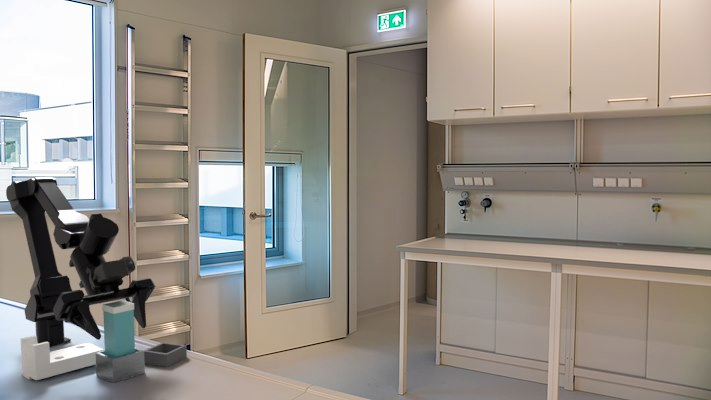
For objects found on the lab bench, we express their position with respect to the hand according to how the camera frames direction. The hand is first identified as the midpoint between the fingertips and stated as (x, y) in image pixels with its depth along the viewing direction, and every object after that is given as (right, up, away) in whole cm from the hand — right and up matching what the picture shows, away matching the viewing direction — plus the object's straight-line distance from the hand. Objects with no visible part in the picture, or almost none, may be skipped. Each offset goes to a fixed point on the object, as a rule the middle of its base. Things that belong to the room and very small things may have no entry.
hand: (122, 332), depth 110 cm
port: (-1, -9, +1) cm, 9 cm away
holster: (+5, -8, +9) cm, 13 cm away
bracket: (-14, -9, +4) cm, 17 cm away
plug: (-1, -8, +1) cm, 8 cm away
